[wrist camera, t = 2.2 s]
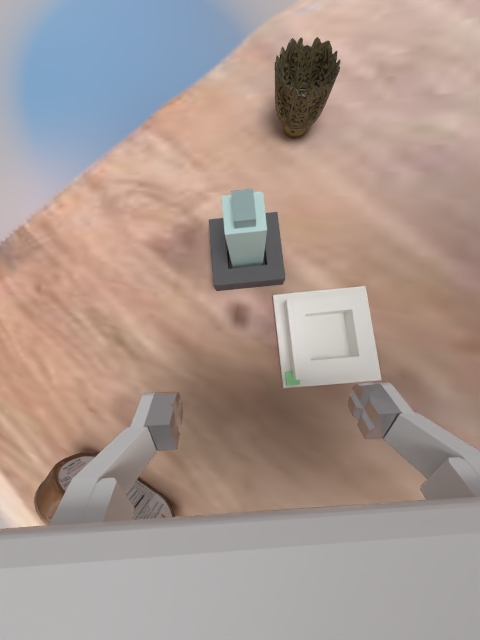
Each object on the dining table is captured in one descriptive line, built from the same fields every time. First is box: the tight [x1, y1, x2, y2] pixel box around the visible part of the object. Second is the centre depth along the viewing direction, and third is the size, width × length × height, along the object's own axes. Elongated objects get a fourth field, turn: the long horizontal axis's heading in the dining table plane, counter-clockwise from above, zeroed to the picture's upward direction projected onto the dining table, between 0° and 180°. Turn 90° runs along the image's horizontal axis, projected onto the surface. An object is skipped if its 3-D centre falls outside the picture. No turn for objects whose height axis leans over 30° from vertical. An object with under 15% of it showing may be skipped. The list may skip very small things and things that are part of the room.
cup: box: [275, 37, 340, 138], centre depth 30 cm, size 8×7×8 cm
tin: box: [34, 453, 175, 525], centre depth 24 cm, size 15×3×8 cm, turn 60°
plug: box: [222, 189, 267, 268], centre depth 26 cm, size 4×4×11 cm
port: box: [273, 286, 381, 388], centre depth 28 cm, size 12×12×3 cm
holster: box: [209, 212, 285, 291], centre depth 30 cm, size 9×9×2 cm
